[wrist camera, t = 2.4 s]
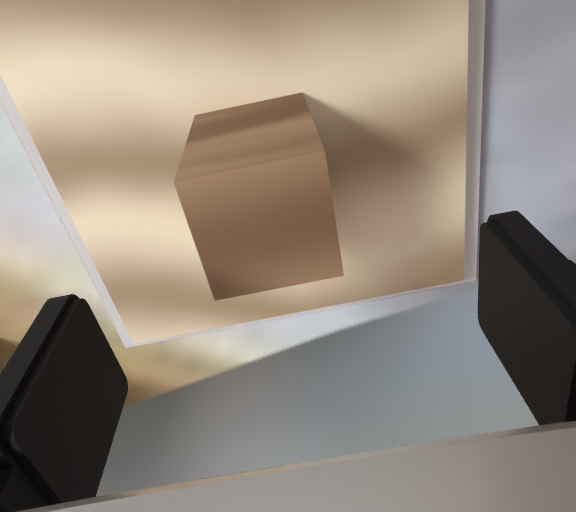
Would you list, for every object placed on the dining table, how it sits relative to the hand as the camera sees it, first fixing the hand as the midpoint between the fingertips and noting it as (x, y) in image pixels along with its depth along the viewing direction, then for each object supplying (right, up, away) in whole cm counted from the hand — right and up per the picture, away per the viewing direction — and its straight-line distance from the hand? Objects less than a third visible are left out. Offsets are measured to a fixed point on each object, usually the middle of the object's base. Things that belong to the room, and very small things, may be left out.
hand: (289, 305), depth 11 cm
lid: (-1, +6, +8) cm, 10 cm away
